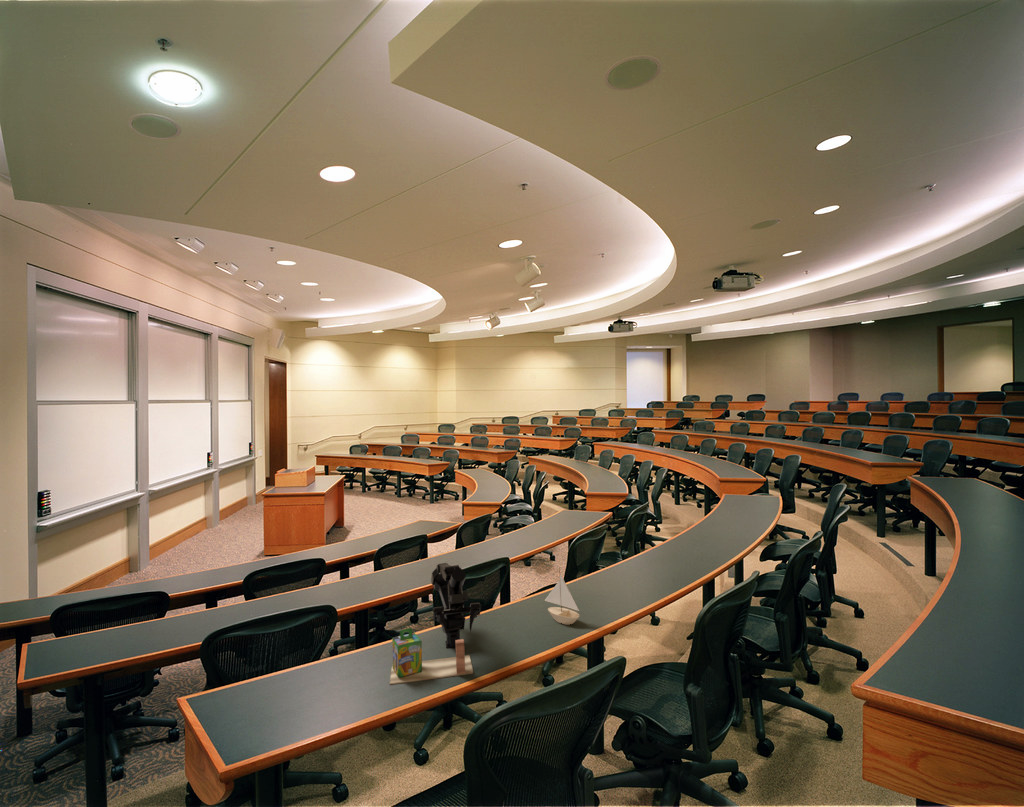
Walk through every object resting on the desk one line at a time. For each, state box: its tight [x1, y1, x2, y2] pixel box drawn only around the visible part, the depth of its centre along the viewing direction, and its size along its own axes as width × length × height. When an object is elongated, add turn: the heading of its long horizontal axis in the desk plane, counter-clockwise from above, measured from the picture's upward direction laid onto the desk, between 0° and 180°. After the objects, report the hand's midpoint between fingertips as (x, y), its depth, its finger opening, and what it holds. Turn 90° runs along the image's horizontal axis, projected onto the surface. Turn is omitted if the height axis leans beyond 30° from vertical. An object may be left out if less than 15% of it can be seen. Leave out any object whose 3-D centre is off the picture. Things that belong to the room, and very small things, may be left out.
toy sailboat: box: [544, 566, 580, 626], centre depth 223 cm, size 21×25×9 cm
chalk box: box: [391, 627, 423, 678], centre depth 181 cm, size 9×9×15 cm
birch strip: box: [389, 638, 474, 685], centre depth 182 cm, size 14×30×12 cm, turn 101°
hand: (458, 632), depth 185 cm, fingers open, 9 cm apart
